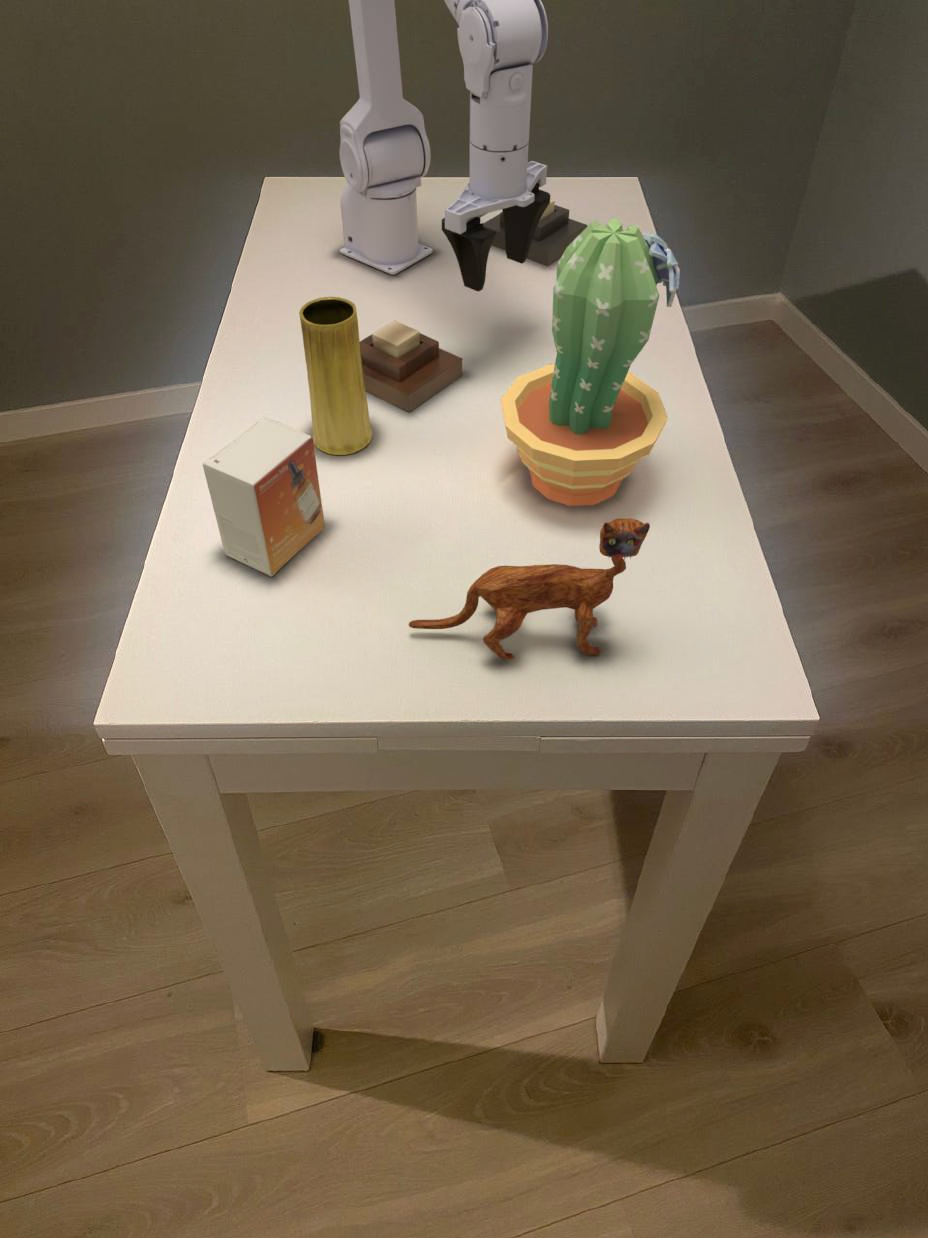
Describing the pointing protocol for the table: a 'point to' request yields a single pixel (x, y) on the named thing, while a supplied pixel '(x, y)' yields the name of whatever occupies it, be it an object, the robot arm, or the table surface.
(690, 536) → the table surface
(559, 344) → the potted cactus
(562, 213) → the block
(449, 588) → the table surface
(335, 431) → the vase
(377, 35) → the robot arm
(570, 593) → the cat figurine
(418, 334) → the front key
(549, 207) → the back key
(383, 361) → the front block
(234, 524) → the small box
